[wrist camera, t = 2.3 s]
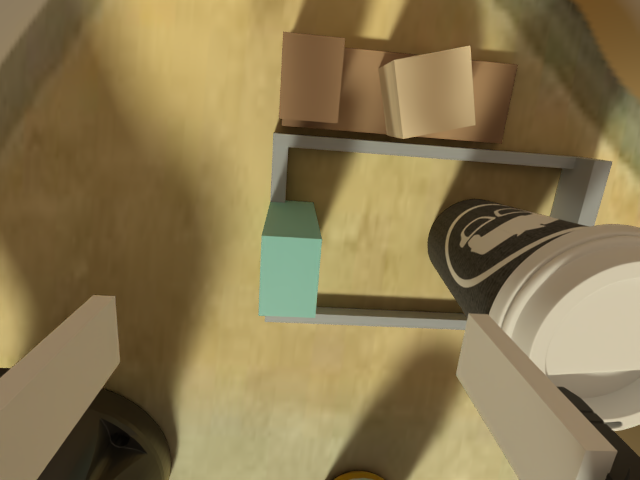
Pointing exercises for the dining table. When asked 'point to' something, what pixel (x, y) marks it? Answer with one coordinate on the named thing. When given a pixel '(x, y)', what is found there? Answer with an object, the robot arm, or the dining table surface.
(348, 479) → the bottle
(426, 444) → the dining table surface
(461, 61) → the maple block
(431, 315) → the grey rectangular frame
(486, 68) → the wooden l-shaped block
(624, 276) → the coffee cup
